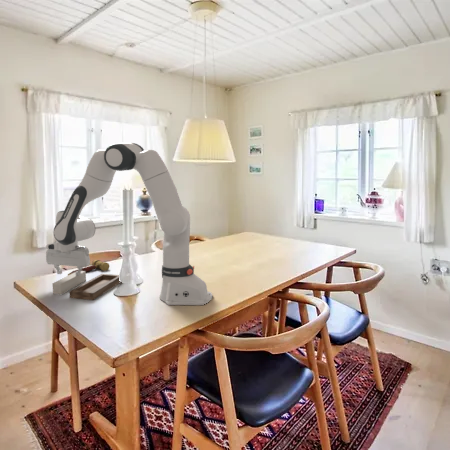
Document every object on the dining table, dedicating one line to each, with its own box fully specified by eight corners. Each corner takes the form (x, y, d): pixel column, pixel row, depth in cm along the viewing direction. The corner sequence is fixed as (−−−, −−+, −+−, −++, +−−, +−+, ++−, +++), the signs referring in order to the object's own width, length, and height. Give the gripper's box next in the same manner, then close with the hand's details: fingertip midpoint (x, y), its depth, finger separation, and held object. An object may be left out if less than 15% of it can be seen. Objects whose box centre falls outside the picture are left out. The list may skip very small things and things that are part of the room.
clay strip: (86, 281, 175) (85, 271, 174) (61, 295, 155) (60, 284, 154) (78, 280, 175) (78, 270, 175) (53, 294, 156) (52, 283, 155)
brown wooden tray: (122, 281, 174) (122, 275, 174) (93, 300, 149) (93, 293, 148) (102, 279, 176) (101, 273, 176) (69, 298, 151) (69, 291, 151)
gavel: (72, 272, 178) (62, 268, 184) (73, 281, 178) (63, 277, 185) (109, 261, 193) (99, 258, 200) (110, 269, 194) (99, 266, 201)
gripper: (92, 245, 163) (93, 274, 165) (52, 242, 167) (53, 271, 169) (84, 248, 157) (85, 278, 159) (43, 245, 161) (44, 274, 163)
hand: (68, 274), depth 164 cm, fingers open, 8 cm apart
